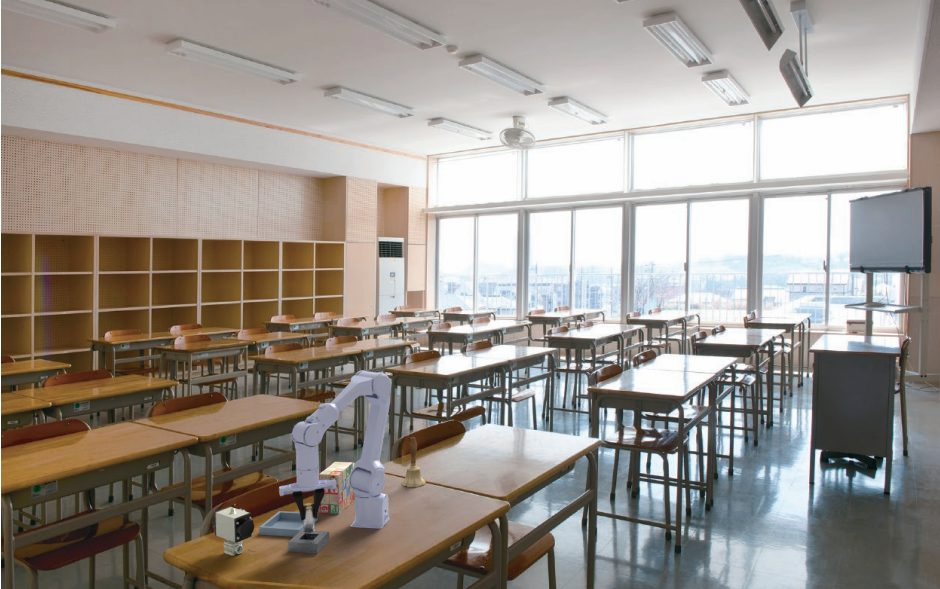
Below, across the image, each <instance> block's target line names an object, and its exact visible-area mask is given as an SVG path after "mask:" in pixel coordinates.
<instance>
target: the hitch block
mask: <svg viewBox="0 0 940 589" xmlns="http://www.w3.org/2000/svg"><path fill="white" fill-rule="evenodd" d="M329 542H330V531H326V530H314V532H311V533H305V532H304V530H301V531H300V532H298V533H297V534H296V535H295V536H294V537H292V538H291V539H290V540H289V541H288V542H287V543H288V548H287V549H288V552H291V553H304V554H319V553H320V551H321V550H322V549H324V547H325V546H326V545H327V544H328V543H329Z"/></svg>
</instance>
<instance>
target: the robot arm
mask: <svg viewBox="0 0 940 589" xmlns="http://www.w3.org/2000/svg"><path fill="white" fill-rule="evenodd" d="M392 384H393V382H392V380H391V379H390V377H389V376H388V374H386V373H385V372H380V373H379V372H375V371H374V372H373V371H367V370H359V371H357V372H355V375H353V376H351V378H350V382H349V383H348V384H347V385H346V386H345V387H344V388H343V390H342V391H340V393H339V394H337V396H336V397H335V398H334V399H332V401H331V402H330V403H329V402H324V403H320V404H319V405H318V409H316V410H315V411H314V412H313V413H312V414H311V415H308V416H307V417H306V419H305V420H304V421H299V422H297V423H296V424H295V425H294V427H293V428H292V432H291V433H290V438H291V440H292V441H293V443H294V448H295V457H296V458H295V460H296V464H295V465H296V468H295V469H296V482H294V483H290V484H286V485H281V486H279V487H278V492H279V496H280V497H282V496H285V495H292V498H293V500H294V503H295V504H296V506H297V508H298V512H300V518H301V521H302V520H304V512H303V505H304V496H303V493H307V492H312V495H313V496H312V497H313V504H314V519H316V518H317V517H318V514H319V511H320V504H321V501H322V499H323V497H324V494H325V492H324V489H330V488H332V489H336V480H335V479H334V480H320V477H319V474H320V473H319V470H320V469H319V465H320V464H319V444H320V443H321V442H322V440H323V436H324V434H325V433H326V431H327V430H328V429H329V428H330V427H331V426H332V425H333V424H334V423H336V422H337V420H339V418H340V412H342V410H344V409H345V408H346V407H347V406H349V405H350V404H351V403H353V402H354V401H355V400H356V399H357V398H358V397H361V396H362V397H364V398H366V400H367V402H368V403H369V405H370V408H369V412H368V418H367V424H366V428H365V435H364V440H363V443H362V444H363V446H362V450H361V455H360V458H359V459H358V460H357V461H355V462H353V463H354V467H353V470H352V472H351V474H350V476H349V485H350V487H351V488H353V493H355V499H354V521H353V522H352V523H351V525H349V527H352V528H365V529H382V528H384V526H385V525H386V524H387V522H388V521H390V510H389V508H390V507H389V506H390V505H389V504H390V503H389V501H390V500H389V495H388V494H386V493H383V491H384V488H385V486H386V479H385V478H386V477H385V474H386V468H385V467H384V465H383V464H382V462H381V461H380V460H381V455H382V450H383V444H384V438H385V432H386V428H387V422H388V417H389V410H390V404H391V391H392V390H391V389H392Z"/></svg>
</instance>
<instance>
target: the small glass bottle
mask: <svg viewBox="0 0 940 589" xmlns="http://www.w3.org/2000/svg"><path fill="white" fill-rule="evenodd" d="M303 512H304V520H303V525H304V532H305V533H311V532H314V531H315V523H314V502H307V503H303Z"/></svg>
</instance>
